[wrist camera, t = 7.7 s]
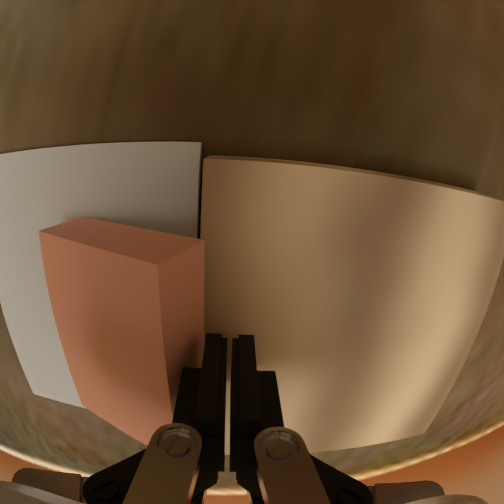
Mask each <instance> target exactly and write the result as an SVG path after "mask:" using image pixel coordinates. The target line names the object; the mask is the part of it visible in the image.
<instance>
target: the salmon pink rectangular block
mask: <svg viewBox="0 0 504 504" xmlns="http://www.w3.org/2000/svg"><path fill="white" fill-rule="evenodd" d="M39 239H40V246H41V253H42V260H43V266H44V272H45V277H46V282H47V287H48V292H49V297H50V302H51V306H52V310H53V314H54V319H55V323H56V326H57V330H58V334H59V337H60V341H61V344H62V348H63V351H64V354H65V358H66V361H67V364H68V367H69V370H70V373H71V376H72V379H73V382H74V384H75V387H76V390H77V393H78V395H79V398H80V400H81V403H82V405H83V406H85V407H86V408H87V409H89V410H90V411H92V412H93V413H95V414H96V415H98V416H99V417H101V418H102V419H104V420H105V421H107V422H108V423H110V424H112V425H113V426H115V427H116V428H118V429H120V430H121V431H123V432H125V433H126V434H128V435H130V436H131V437H133V438H135V439H137V440H138V441H140V442H142V443H144V444H145V445H147V446H148V444H149V441H150V439H151V437H152V435H153V434H154V432H155V431H156V430H157V429H158V428H160V427H161V426H164V425H166V424H171V423H172V419H173V414H174V409H175V404H176V399H177V394H178V389H179V384H180V379H181V374H182V370H183V367H189V368H202V361H203V353H204V346H205V339H204V276H205V240H202V239H196V238H191V237H186V236H181V235H176V234H171V233H166V232H160V231H155V230H150V229H145V228H140V227H135V226H130V225H124V224H119V223H114V222H109V221H104V220H99V219H93V218H88V217H81V218H78V219H75V220H71V221H68V222H65V223H61V224H58V225H55V226H52V227H49V228H45V229H42V230H39Z"/></svg>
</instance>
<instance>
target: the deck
mask: <svg viewBox="0 0 504 504" xmlns="http://www.w3.org/2000/svg"><path fill="white" fill-rule="evenodd" d="M201 239H202V240H205V276H204V339H206V333H219V334H222V338H228V340H227V374H226V413H225V454H229V455H230V387H231V360H232V338H238V335H239V334H243V335H254V341H255V353H256V364H257V371H275V373H276V378H277V384H278V391H279V397H280V403H281V409H282V416H283V422H284V427H285V428H289V429H291V430H294V431H296V432H297V433H298V434H299V435H301V437H302V438H303V440H304V442H305V444H306V447H307V449H308V451H309V453H312V452H323V451H332V450H341V449H348V448H355V447H362V446H368V445H374V444H379V443H385V442H390V441H394V440H399V439H404V438H408V437H412V436H416V435H420V434H424V433H425V432H426V430H427V429H428V427H429V426H430V424H431V422H432V421H433V419H434V418H435V416H436V414H437V413H438V411H439V409H440V408H441V406H442V404H443V402H444V401H445V399H446V397H447V395H448V394H449V392H450V390H451V388H452V386H453V384H454V382H455V381H456V379H457V377H458V375H459V373H460V371H461V369H462V367H463V365H464V363H465V360H466V358H467V356H468V354H469V352H470V350H471V348H472V345H473V343H474V341H475V338H476V336H477V334H478V331H479V329H480V326H481V324H482V321H483V319H484V316H485V314H486V311H487V308H488V306H489V303H490V300H491V297H492V294H493V291H494V288H495V285H496V282H497V279H498V276H499V272H500V269H501V265H502V262H503V258H504V200H501V199H498V198H495V197H492V196H489V195H486V194H483V193H480V192H477V191H473V190H469V189H465V188H460V187H456V186H452V185H447V184H442V183H438V182H433V181H428V180H423V179H418V178H413V177H407V176H402V175H396V174H390V173H384V172H378V171H372V170H365V169H358V168H351V167H344V166H336V165H328V164H320V163H311V162H302V161H292V160H281V159H269V158H256V157H241V156H222V155H211V156H208V157H206V158H204V159H203V179H202V204H201Z"/></svg>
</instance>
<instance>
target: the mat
mask: <svg viewBox="0 0 504 504" xmlns="http://www.w3.org/2000/svg"><path fill="white" fill-rule="evenodd" d="M201 157H202V142H120V143H100V144H84V145H71V146H60V147H50V148H41V149H33V150H25V151H18V152H11V153H4V154H0V303H1V307H2V311H3V314H4V317H5V321H6V324H7V327H8V330H9V333H10V336H11V339H12V342H13V345H14V347H15V350H16V353H17V355H18V358H19V361H20V363H21V366H22V368H23V371H24V373H25V375H26V378H27V380H28V382H29V385H30V387H31V389H32V391H33V393H34V394H36V395H39V396H42V397H46V398H49V399H52V400H56V401H60V402H63V403H67V404H71V405H75V406H79V407H83V408H86V407H85V406H83V405H82V403H81V400H80V398H79V395H78V393H77V390H76V387H75V384H74V382H73V379H72V376H71V373H70V370H69V367H68V364H67V361H66V358H65V354H64V351H63V348H62V344H61V341H60V337H59V334H58V330H57V326H56V323H55V319H54V314H53V310H52V306H51V302H50V297H49V292H48V287H47V282H46V277H45V272H44V266H43V260H42V253H41V246H40V239H39V230H42V229H45V228H49V227H52V226H55V225H58V224H61V223H65V222H68V221H71V220H75V219H78V218H81V217H88V218H93V219H99V220H104V221H109V222H114V223H119V224H124V225H130V226H135V227H140V228H145V229H150V230H155V231H160V232H166V233H171V234H176V235H181V236H186V237H191V238H196V239H199V203H200V178H201Z"/></svg>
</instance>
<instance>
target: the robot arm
mask: <svg viewBox="0 0 504 504" xmlns="http://www.w3.org/2000/svg"><path fill="white" fill-rule="evenodd" d="M227 340H228V338H222V334H219V333H206V339H205V346H204V353H203V361H202V368H189V367H183V370H182V374H181V379H180V384H179V389H178V394H177V399H176V404H175V409H174V414H173V419H172V423H171V424H166V425H164V426H161V427H160V428H158V429H157V430H156V431H155V432H154V434H153V435H152V437H151V439H150V441H149V444H148V446H147V448H146V449H144V450H142V451H141V452H139V453H137V454H135V455H133V456H131V457H129V458H127V459H125V460H123V461H121V462H119V463H117V464H114V465H112V466H110V467H108V468H106V469H104V470H102V471H100V472H97V473H95V474H93V475H92V476H90V477H82V476H81V475H80V474H73V473H63V472H54V471H47V470H40V469H34V468H23V469H20V470H18V471H17V472H16V473H15V474H14V476H13V479H12V482H6V481H0V504H204V501H205V497H206V493H207V489H208V488H210V487H211V486H213V485H214V484H216V483H217V479H218V471H224V463H225V413H226V374H227ZM230 472H236V480H237V483H238V484H239V485H240V486H242V487H243V488H244V489H246V490H247V495H248V499H249V503H250V504H488V503H487V502H486V501H485V500H483V499H482V498H479V497H476V496H471V495H458V494H456V495H455V494H454V495H445V494H444V491H443V488H442V487H441V486H440V485H439V484H438V483H435V482H433V481H418V482H405V483H404V482H403V483H379V484H375V485H374V486H366V485H364V484H363V483H362V482H360V481H358V480H356V479H354V478H352V477H350V476H348V475H346V474H344V473H342V472H340V471H338V470H337V469H335V468H333V467H331V466H329V465H328V464H326V463H324V462H322V461H320V460H319V459H317V458H315V457H314V456H312V455H310V454H309V451H308V449H307V447H306V444H305V442H304V440H303V438H302V437H301V435H299V434H298V433H297V432H296V431H294V430H291V429H289V428H285V427H284V422H283V416H282V409H281V403H280V397H279V391H278V384H277V378H276V373H275V371H257V364H256V353H255V341H254V335H243V334H239V335H238V338H232V360H231V387H230Z"/></svg>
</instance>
